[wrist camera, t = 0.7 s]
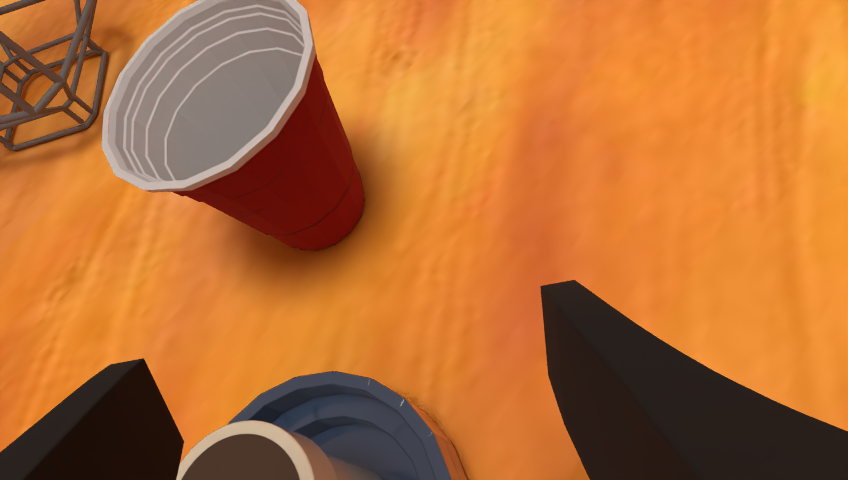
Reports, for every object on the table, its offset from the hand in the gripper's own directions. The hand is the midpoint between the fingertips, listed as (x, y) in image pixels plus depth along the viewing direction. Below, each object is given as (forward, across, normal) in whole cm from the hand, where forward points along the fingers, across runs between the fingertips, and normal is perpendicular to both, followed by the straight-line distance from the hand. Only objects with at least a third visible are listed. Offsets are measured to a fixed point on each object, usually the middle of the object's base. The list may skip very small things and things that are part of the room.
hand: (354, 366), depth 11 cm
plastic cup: (+24, +4, +7) cm, 25 cm away
